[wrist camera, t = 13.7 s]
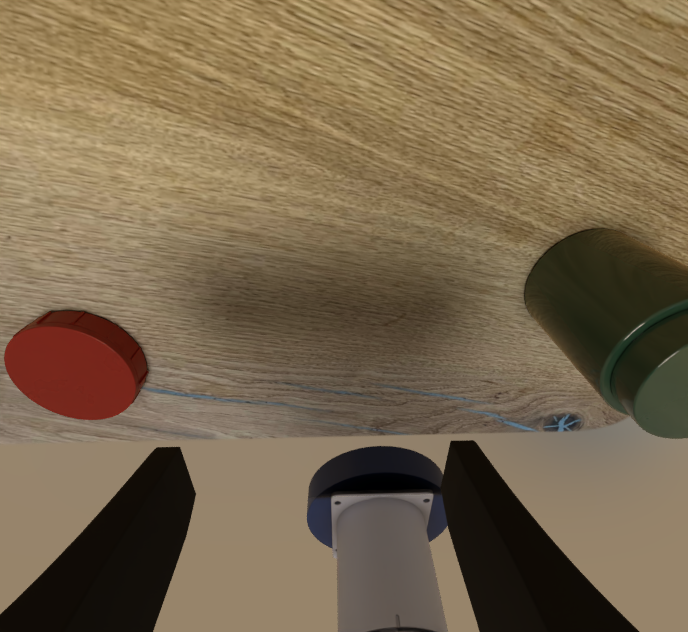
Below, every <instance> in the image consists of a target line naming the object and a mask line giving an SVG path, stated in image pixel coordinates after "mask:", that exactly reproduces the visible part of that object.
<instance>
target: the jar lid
mask: <svg viewBox="0 0 688 632" xmlns="http://www.w3.org/2000/svg"><path fill="white" fill-rule="evenodd" d="M4 361H5V366H6V370H7V372H8V374H9V376H10V378H11V380H12V381H13V383H14V384H15V385H16V386H17V387H18V389H19V390H20V391H21V392H22V393H23V394H25V395H26V396H27V397H28V398H30V399H31V400H32V401H34V402H35V403H37V404H38V405H40V406H42V407H44V408H46V409H48V410H50V411H52V412H55V413H57V414H60V415H63V416H67V417H71V418H76V419H84V420H99V419H106V418H110V417H113V416H115V415H118V414H120V413H121V412H123V411H124V410H126V409H127V408H128V407H129V406H130V405H131V404H132V403H133V402H134V400H135V399H136V397H137V396H138V394H139V392H140V391H141V390H140V389H141V387H142V386H143V384H144V382H145V379H146V376H147V374H148V373H149V371H147V364H146V361H145V358H144V354H143V352H142V351H141V347H139V346H138V345H137V343H136V342H135V341H134V340H133V339H132V338H131V337H130V336H129V335H128V334H127V333H126V332H125V331H124V330H122V329H121V328H119V327H118V326H117V325H114V324H113V323H111V322H109V321H107V320H105V319H102V318H100V317H98V316H95V315H92V314H87V313H85V312H83V311H82V312H78V311H58V312H53V313H52V312H51V311H49V312H48V313H47V314H45V315H43V316H41V317H39V318H37V319H36V320H35V321H33V322H32V323H31V324H29V325H27V326H25V327H24V328H23V329H21V330H20V331H19V332H18V333H16V334H15V335H14V336H13V338H12V339H11V341H10V342H9V343H8V345H7V347H6V350H5V356H4Z"/></svg>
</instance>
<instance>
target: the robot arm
mask: <svg viewBox="0 0 688 632" xmlns="http://www.w3.org/2000/svg"><path fill="white" fill-rule="evenodd" d="M441 493H442V498H443V504H444V509H445V514H446V519H447V524H448V529H449V532H450V535H451V539H452V542H453V545H454V549H455V552H456V555H457V558H458V562H459V565H460V568H461V572H462V575H463V578H464V582H465V584H466V588H467V591H468V595H469V598H470V601H471V604H472V608H473V611H474V614H475V617H476V620H477V624H478V628H479V631H480V632H639V631H638V630H637V629H636V628H635V627H634V626H633V625H632V624H631V623H630V622H629V621H628V620H627V619H626V618H625V617H624V616H623V615H622V614H621V613H620V612H619V611H618V610H617V609H616V608H615V607H614V606H613V605H612V604H611V603H610V602H609V601H608V600H607V599H606V598H605V597H604V596H603V595H602V594H601V593H600V592H599V591H598V590H597V589H596V588H595V587H594V586H593V585H592V584H591V583H590V581H589V580H588V579H587V578H586V577H585V576H584V575H583V574H582V573H581V572H580V571H579V570H578V569H577V567H576V566H575V565H574V564H573V563H572V562H571V561H570V560H569V559H568V558H567V556H566V555H565V554H564V553H563V552H562V551H561V550H560V549H559V547H558V546H557V545H556V544H555V543H554V542H553V540H552V539H551V538H550V537H549V536H548V535H547V534H546V532H545V531H544V530H543V529H542V528H541V526H540V525H539V524H538V523H537V521H536V520H535V519H534V518H533V517H532V516H531V514H530V513H529V512H528V510H527V509H526V508H525V507H524V506H523V504H522V503H521V502H520V501H519V499H518V498H517V497H516V496H515V494H514V493H513V492H512V490H511V489H510V488H509V487H508V485H507V484H506V483H505V481H504V480H503V479H502V477H501V476H500V475H499V473H498V472H497V471H496V469H495V468H494V467H493V465H492V464H491V463H490V461H489V460H488V459H487V457H486V456H485V454H484V453H483V452H482V450H481V449H480V447H479V446H478V445H477V443H476V442H475V441H473V440H471V441H451V443H450V447H449V452H448V456H447V461H446V465H445V470H444V475H443V479H442V484H441ZM195 496H196V493H195V490H194V487H193V484H192V481H191V478H190V475H189V472H188V469H187V466H186V463H185V461H184V458H183V455H182V452H181V449H180V447H158V448H156V449H155V450H154V451H153V452H152V453H151V454H150V455H149V456H148V457H147V459H146V460H145V461H144V462H143V463H142V465H141V466H140V467H139V468H138V469H137V470H136V471H135V473H134V474H133V475H132V476H131V477H130V478H129V480H128V481H127V482H126V483H125V484H124V485H123V487H122V488H121V489H120V490H119V491H118V492H117V494H116V495H115V496H114V497H113V498H112V499H111V500H110V502H109V503H108V504H107V505H106V506H105V507H104V508H103V509H102V511H101V512H100V513H99V514H98V515H97V516H96V517H95V518H94V519H93V520H92V522H91V523H90V524H89V525H88V526H87V527H86V528H85V529H84V530H83V532H82V533H81V534H80V535H79V536H78V537H77V538H76V539H75V540H74V541H73V542H72V543H71V544H70V545H69V546H68V547H67V548H66V549H65V551H64V552H63V553H62V554H61V555H60V556H59V557H58V558H57V559H56V560H55V561H54V562H53V563H52V564H51V565H50V566H49V567H48V568H47V569H46V570H45V571H44V572H43V573H42V574H41V575H40V576H39V577H38V579H36V580H35V581H34V582H33V583H32V584H31V585H30V586H29V587H28V588H27V589H26V590H25V591H24V592H23V593H22V594H21V595H20V596H19V597H18V598H17V599H16V600H15V601H14V602H13V603H12V604H11V605H10V606H9V607H8V608H7V609H5V610H4V611H3V612H2V613H1V614H0V632H153V630H154V627H155V624H156V621H157V618H158V616H159V613H160V610H161V607H162V604H163V601H164V598H165V595H166V593H167V590H168V587H169V584H170V581H171V579H172V576H173V573H174V570H175V567H176V564H177V561H178V559H179V556H180V553H181V550H182V547H183V543H184V541H185V538H186V535H187V531H188V526H189V523H190V519H191V514H192V510H193V505H194V501H195ZM432 501H433V492H432V490H430V489H398V490H358V491H335V492H333V493H332V494H331V513H332V546H333V557H334V558H336V559H337V590H338V591H337V592H338V632H448V630H447V625H446V621H445V616H444V611H443V606H442V602H441V597H440V592H439V588H438V583H437V578H436V573H435V569H434V564H433V559H432V554H431V550H430V545H429V540H428V535H427V531H426V530H427V525H428V520H429V515H430V511H431V506H432Z"/></svg>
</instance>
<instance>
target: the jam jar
mask: <svg viewBox="0 0 688 632" xmlns="http://www.w3.org/2000/svg"><path fill="white" fill-rule="evenodd" d="M525 302H526V306H527V309H528V311H529V313H530V315H531V316H532V317H533V319H534V320H535V321H536V322H537V323H538V324H539V325H540V327H541V328H542V329H543V330H544V331H545V332H546V334H547V335H548V336H549V337H550V338H551V339H552V341H553V342H554V343H555V344H556V345H557V346H558V347H559V349H560V350H561V351H562V352H563V353H564V354H565V356H566V357H567V358H568V359H569V360H570V361H571V363H572V364H573V365H574V366H575V367H576V368H577V370H578V371H579V372H580V373H581V374H582V375H583V376H584V378H585V379H586V380H587V381H588V382H589V383H590V385H591V386H592V387H593V388H594V389H595V390H596V392H597V393H598V394H599V395H600V396H601V397H602V398H603V400H604V401H605V402H606V403H607V404H608V405H609V406H610V407H611V408H613V409H615V410H616V411H618V412H620V413H623V414H625V415H629V416H631V417H632V419H633V420H634V421H635V422H636V423H637V424H638V425H639V426H640V427H641V428H642V429H643V430H645V431H646V432H648V433H650V434H652V435H655V436H658V437H663V438H672V439H682V438H688V266H686V265H684V264H682V263H680V262H679V261H677V260H675V259H673V258H671V257H669V256H667V255H665V254H663V253H661V252H659V251H657V250H655V249H653V248H651V247H649V246H647V245H645V244H643V243H641V242H639V241H637V240H635V239H633V238H631V237H629V236H627V235H626V234H624V233H621V232H619V231H616V230H610V229H595V230H588V231H584V232H580V233H577V234H575V235H572V236H570V237H568V238H566V239H564V240H563V241H561V242H559V243H558V244H556V245H555V246H554V247H552V248H551V249H550V250H549V251H548V252H546V253H545V254H544V256H543V257H542V258H541V259H540V260H539V261H538V263H537V264H536V265H535V267H534V268H533V270H532V272H531V274H530V276H529V278H528V281H527V284H526V289H525Z"/></svg>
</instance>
